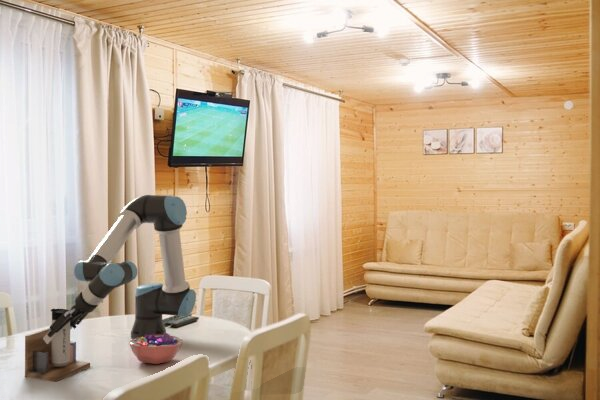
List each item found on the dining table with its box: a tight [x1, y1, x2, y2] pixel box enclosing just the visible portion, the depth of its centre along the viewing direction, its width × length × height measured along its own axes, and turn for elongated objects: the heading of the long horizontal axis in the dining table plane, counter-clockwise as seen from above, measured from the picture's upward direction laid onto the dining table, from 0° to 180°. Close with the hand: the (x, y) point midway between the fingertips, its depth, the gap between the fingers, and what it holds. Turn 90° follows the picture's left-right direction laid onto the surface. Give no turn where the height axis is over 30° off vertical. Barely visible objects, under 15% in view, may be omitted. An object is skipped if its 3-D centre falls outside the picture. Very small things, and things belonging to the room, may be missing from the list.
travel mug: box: [50, 308, 71, 367], centre depth 222 cm, size 6×7×20 cm
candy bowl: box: [128, 332, 183, 365], centre depth 236 cm, size 17×20×11 cm
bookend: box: [28, 350, 48, 375], centre depth 216 cm, size 6×3×7 cm, turn 71°
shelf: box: [24, 327, 91, 383], centre depth 222 cm, size 14×18×14 cm
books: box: [70, 340, 77, 363], centre depth 230 cm, size 6×4×7 cm, turn 71°
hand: (52, 338), depth 223 cm, fingers closed on travel mug, 6 cm apart
